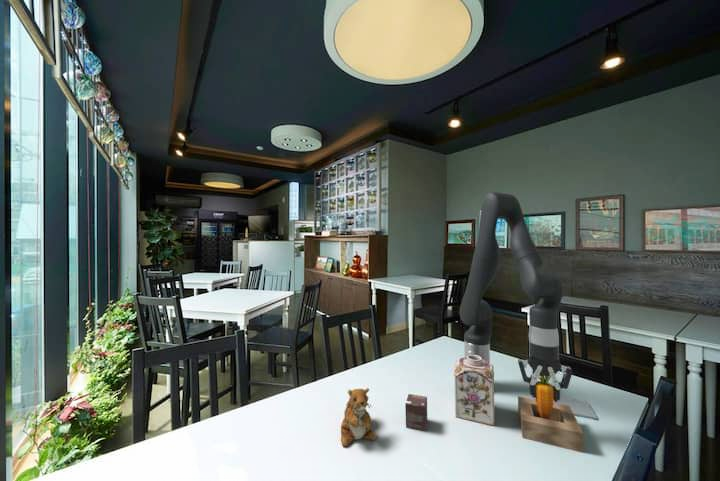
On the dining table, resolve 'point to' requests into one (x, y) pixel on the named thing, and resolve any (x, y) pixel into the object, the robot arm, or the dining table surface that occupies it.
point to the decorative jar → (474, 389)
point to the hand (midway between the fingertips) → (544, 398)
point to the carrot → (544, 397)
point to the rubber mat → (578, 407)
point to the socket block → (550, 425)
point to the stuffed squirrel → (356, 418)
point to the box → (416, 412)
